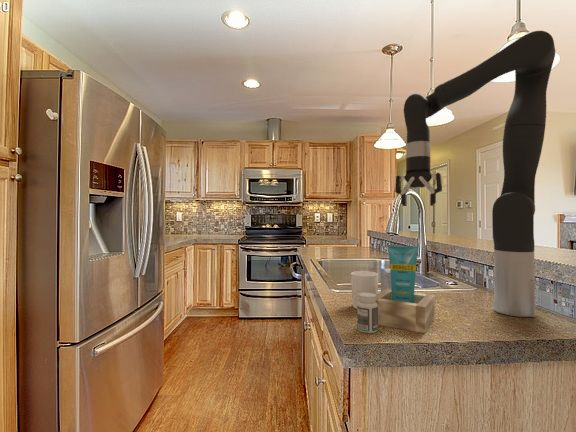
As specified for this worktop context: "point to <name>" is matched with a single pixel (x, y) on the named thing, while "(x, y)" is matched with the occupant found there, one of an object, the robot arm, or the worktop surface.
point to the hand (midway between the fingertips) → (418, 205)
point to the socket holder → (406, 311)
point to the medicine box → (385, 279)
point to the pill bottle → (367, 313)
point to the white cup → (363, 284)
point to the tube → (403, 272)
